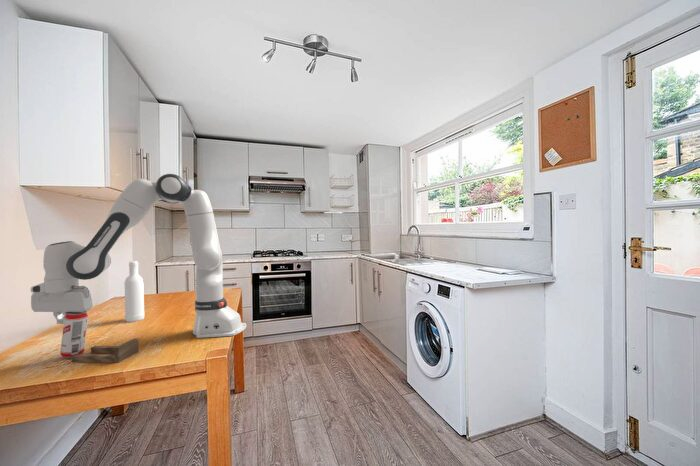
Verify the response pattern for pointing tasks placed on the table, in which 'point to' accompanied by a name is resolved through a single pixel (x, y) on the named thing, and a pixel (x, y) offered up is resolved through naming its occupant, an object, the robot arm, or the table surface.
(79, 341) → the beer can
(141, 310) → the bottle
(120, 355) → the rest
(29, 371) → the table surface
